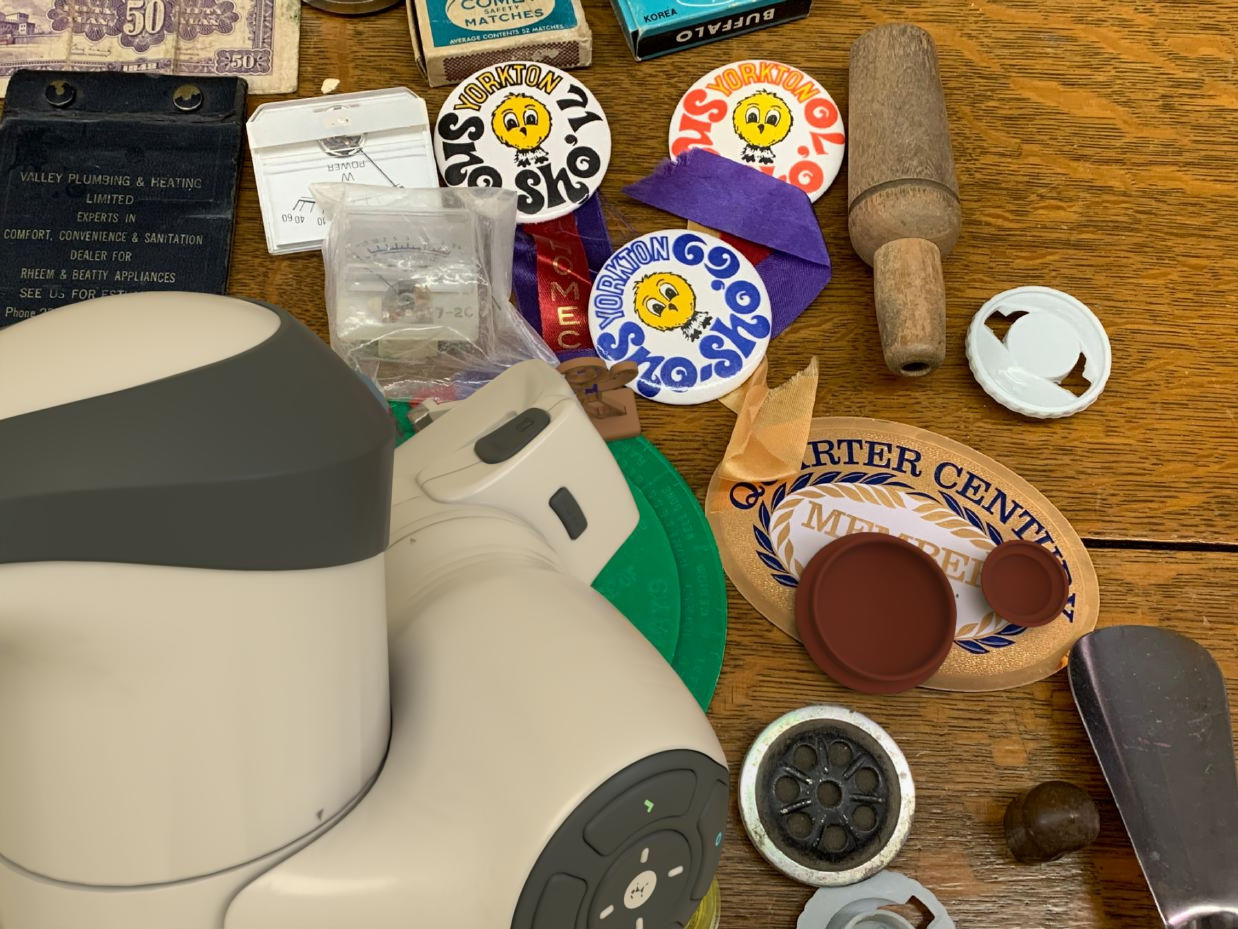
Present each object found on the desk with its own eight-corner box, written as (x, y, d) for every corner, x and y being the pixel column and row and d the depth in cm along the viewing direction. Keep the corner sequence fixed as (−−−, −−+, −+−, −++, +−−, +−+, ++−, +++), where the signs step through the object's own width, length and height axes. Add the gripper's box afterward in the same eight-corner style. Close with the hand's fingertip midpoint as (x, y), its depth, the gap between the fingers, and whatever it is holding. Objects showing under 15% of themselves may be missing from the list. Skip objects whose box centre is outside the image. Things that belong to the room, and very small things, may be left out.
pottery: (773, 551, 72) (784, 539, 68) (1024, 508, 73) (1051, 493, 69) (809, 709, 69) (824, 707, 64) (1071, 660, 70) (1102, 654, 66)
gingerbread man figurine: (528, 455, 73) (517, 399, 62) (520, 408, 74) (508, 345, 63) (641, 436, 74) (652, 377, 63) (632, 389, 75) (640, 324, 64)
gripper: (246, 829, 35) (203, 647, 46) (672, 495, 39) (538, 403, 51) (127, 728, 32) (113, 558, 43) (607, 375, 36) (479, 305, 47)
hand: (345, 472), depth 47 cm, fingers open, 8 cm apart
